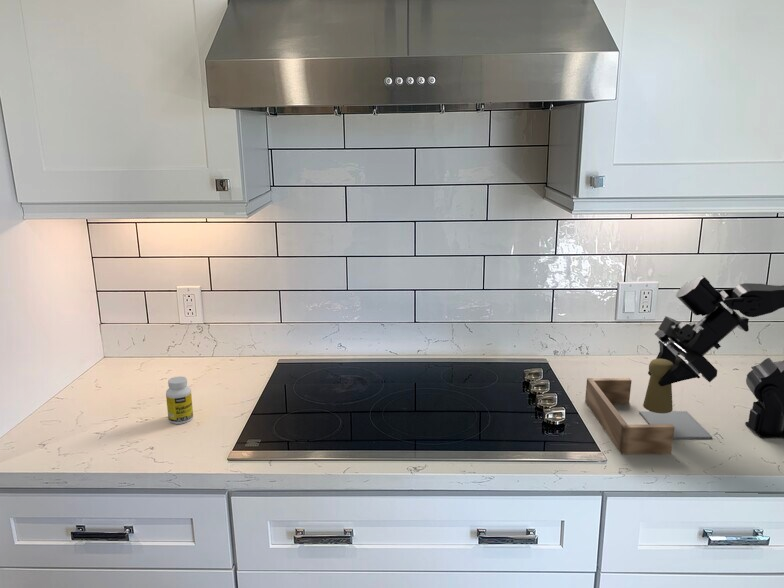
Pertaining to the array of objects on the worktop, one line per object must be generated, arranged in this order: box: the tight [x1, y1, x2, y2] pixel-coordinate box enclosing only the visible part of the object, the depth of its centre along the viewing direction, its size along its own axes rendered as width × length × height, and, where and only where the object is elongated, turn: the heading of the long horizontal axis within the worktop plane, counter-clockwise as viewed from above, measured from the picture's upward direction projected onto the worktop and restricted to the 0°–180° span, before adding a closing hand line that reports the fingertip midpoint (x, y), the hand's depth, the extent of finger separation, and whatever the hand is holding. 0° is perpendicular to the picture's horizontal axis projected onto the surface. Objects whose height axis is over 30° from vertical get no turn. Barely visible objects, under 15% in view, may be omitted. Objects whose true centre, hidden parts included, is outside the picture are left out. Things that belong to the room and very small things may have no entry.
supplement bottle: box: [165, 375, 194, 425], centre depth 141 cm, size 5×5×10 cm
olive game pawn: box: [642, 358, 674, 413], centre depth 136 cm, size 6×6×11 cm
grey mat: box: [638, 410, 713, 440], centre depth 139 cm, size 11×12×1 cm
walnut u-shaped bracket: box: [584, 377, 675, 455], centre depth 138 cm, size 10×24×6 cm, turn 0°
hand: (654, 379), depth 136 cm, fingers closed on olive game pawn, 5 cm apart
